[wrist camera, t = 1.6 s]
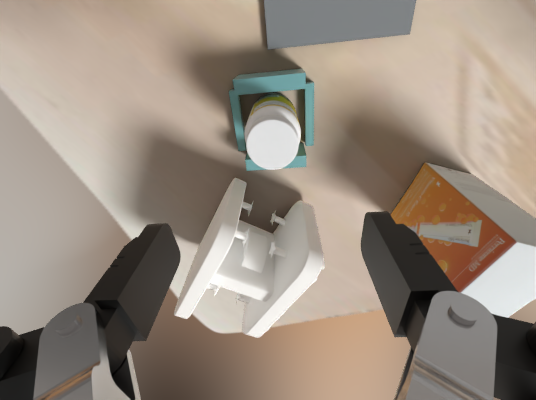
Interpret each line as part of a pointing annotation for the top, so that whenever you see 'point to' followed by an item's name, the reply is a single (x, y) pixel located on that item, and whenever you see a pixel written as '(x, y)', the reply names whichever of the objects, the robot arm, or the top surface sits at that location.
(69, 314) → the robot arm
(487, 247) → the small box
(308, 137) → the teal corner cradle
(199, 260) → the cable organizer
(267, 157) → the supplement bottle
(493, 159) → the top surface
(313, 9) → the mat
